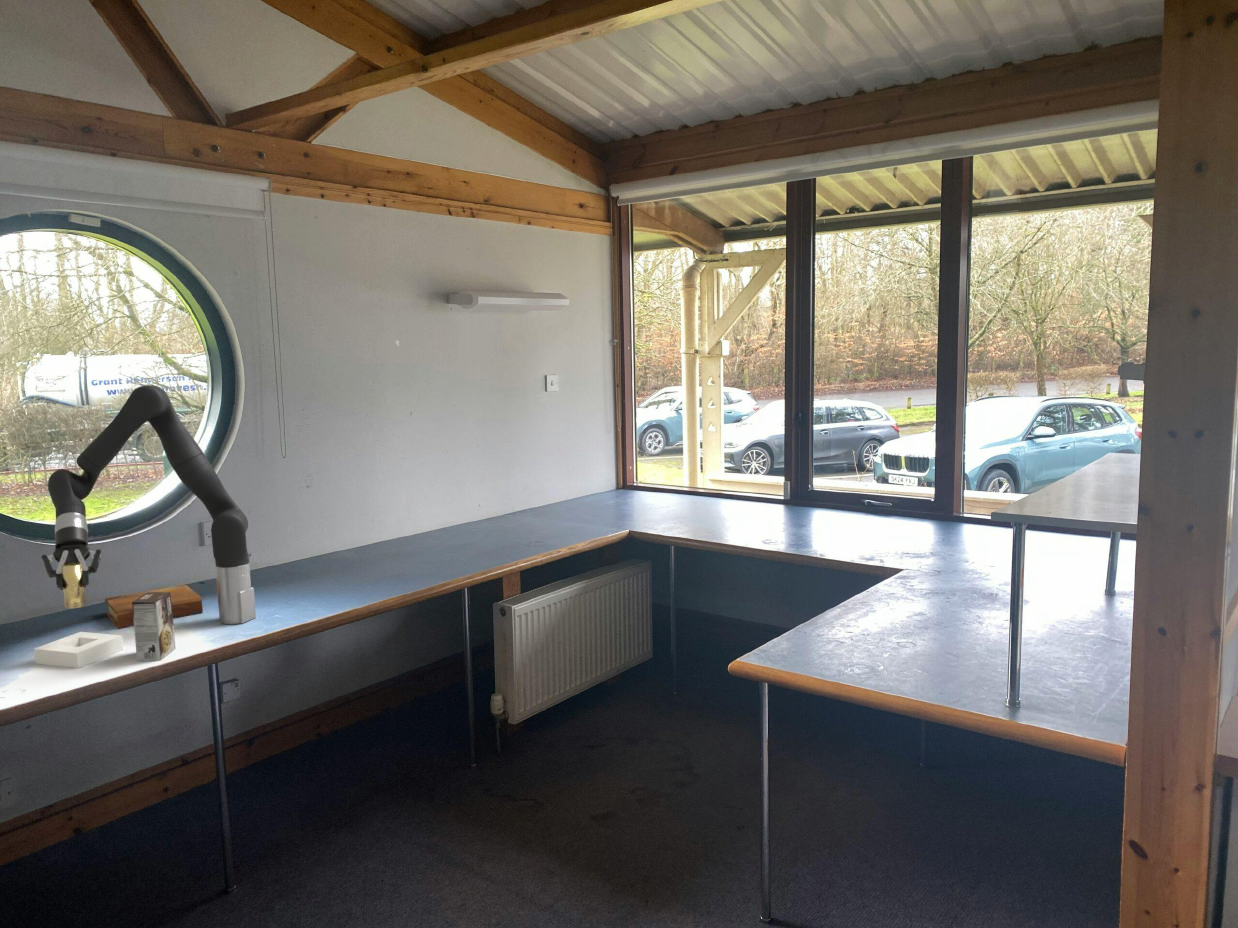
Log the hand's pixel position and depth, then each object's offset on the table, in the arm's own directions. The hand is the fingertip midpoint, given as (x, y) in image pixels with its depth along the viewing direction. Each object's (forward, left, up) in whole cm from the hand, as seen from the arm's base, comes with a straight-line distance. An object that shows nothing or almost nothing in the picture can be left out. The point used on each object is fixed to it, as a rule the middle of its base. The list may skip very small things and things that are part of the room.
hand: (73, 586), depth 225 cm
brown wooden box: (+11, -37, -20) cm, 44 cm away
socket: (+1, -1, -19) cm, 20 cm away
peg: (+1, -1, -6) cm, 6 cm away
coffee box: (-18, -7, -20) cm, 27 cm away
